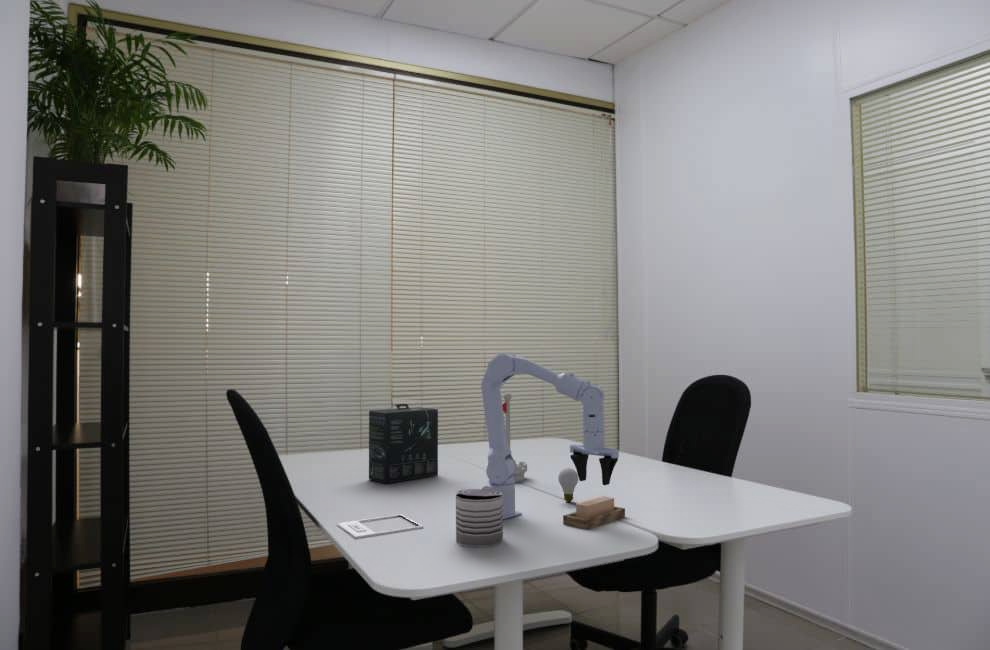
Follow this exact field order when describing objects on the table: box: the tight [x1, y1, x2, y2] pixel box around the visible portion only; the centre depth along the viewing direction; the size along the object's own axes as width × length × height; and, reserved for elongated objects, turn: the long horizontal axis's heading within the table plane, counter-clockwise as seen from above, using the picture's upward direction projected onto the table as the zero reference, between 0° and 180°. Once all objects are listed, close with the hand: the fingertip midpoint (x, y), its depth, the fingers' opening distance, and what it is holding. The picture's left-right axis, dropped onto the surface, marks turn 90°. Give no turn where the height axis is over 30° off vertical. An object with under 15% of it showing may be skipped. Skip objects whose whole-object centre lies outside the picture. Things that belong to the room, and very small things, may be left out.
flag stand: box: [502, 391, 528, 483], centre depth 236 cm, size 13×13×30 cm
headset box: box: [368, 403, 439, 485], centre depth 241 cm, size 22×12×26 cm, turn 133°
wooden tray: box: [562, 505, 626, 530], centre depth 180 cm, size 17×8×2 cm, turn 135°
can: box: [454, 488, 504, 549], centre depth 163 cm, size 11×11×12 cm
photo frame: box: [336, 513, 424, 539], centre depth 176 cm, size 15×1×18 cm
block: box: [575, 495, 615, 519], centre depth 180 cm, size 12×4×4 cm, turn 135°
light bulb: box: [557, 467, 579, 503], centre depth 201 cm, size 6×6×10 cm
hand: (594, 482), depth 180 cm, fingers open, 7 cm apart
